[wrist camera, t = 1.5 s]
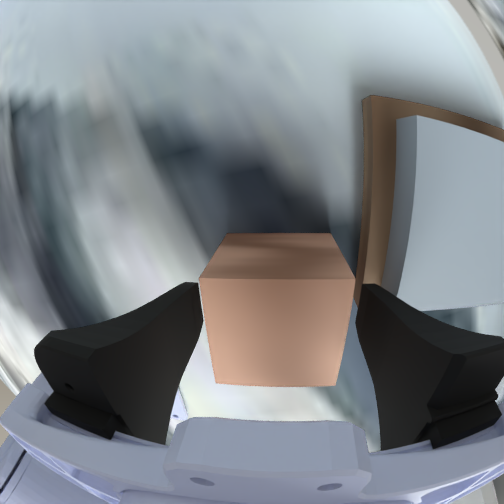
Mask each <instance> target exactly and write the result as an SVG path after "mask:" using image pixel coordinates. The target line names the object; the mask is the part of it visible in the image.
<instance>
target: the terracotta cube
mask: <svg viewBox="0 0 504 504" xmlns="http://www.w3.org/2000/svg"><path fill="white" fill-rule="evenodd" d="M355 280H356V279H355V277H354V275H353V273H352V271H351V269H350V267H349V266H348V264H347V262H346V260H345V258H344V256H343V254H342V253H341V251H340V249H339V247H338V245H337V244H336V242H335V240H334V238H333V237H332V235H331V233H227V234H226V236H225V237H224V239H223V241H222V242H221V244H220V245H219V247H218V249H217V250H216V252H215V253H214V255H213V256H212V258H211V260H210V261H209V263H208V264H207V266H206V268H205V269H204V271H203V273H202V274H201V276H200V277H199V281H200V289H201V296H202V303H203V310H204V317H205V324H206V330H207V336H208V342H209V348H210V354H211V360H212V366H213V371H214V377H215V382H216V383H219V384H231V385H246V386H269V387H313V386H335V385H336V381H337V377H338V372H339V368H340V364H341V359H342V355H343V350H344V345H345V340H346V335H347V330H348V325H349V319H350V313H351V307H352V301H353V294H354V287H355Z"/></svg>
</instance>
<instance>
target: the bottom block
mask: <svg viewBox="0 0 504 504" xmlns="http://www.w3.org/2000/svg"><path fill="white" fill-rule="evenodd" d="M362 107H363V132H364V177H363V203H362V219H361V232H360V244H359V254H358V263H357V271H356V280H355V287H354V294H353V298H354V300H355V302H356V304H357V307H358V305H359V299H360V293H361V287H362V284H371V283H375V284H377V285H379V286H381V283H382V278H383V272H384V267H385V261H386V255H387V249H388V242H389V235H390V227H391V219H392V210H393V200H394V187H395V171H396V119H400V118H405V117H410V116H414V115H419V116H423V117H427V118H431V119H435V120H439V121H443V122H446V123H450V124H453V125H457V126H460V127H463V128H466V129H469V130H472V131H475V132H478V133H481V134H484V135H487V136H489V137H492V138H494V139H497V140H500V141H502V142H504V130H503V129H501V128H498V127H496V126H493V125H490V124H488V123H485V122H482V121H479V120H476V119H474V118H471V117H467V116H464V115H461V114H458V113H454V112H451V111H447V110H444V109H440V108H436V107H432V106H428V105H424V104H419V103H415V102H410V101H405V100H399V99H394V98H388V97H382V96H375V95H370V96H368V97H367V98H365V99H363V100H362Z"/></svg>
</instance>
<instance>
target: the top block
mask: <svg viewBox="0 0 504 504" xmlns="http://www.w3.org/2000/svg"><path fill="white" fill-rule="evenodd" d="M381 287H382V288H384V289H386V290H387V291H389V292H390V293H392V294H393V295H395V296H396V297H398V298H399V299H401V300H402V301H404V302H405V303H407V304H409V305H410V306H412V307H414V308H415V309H417V310H419V311H429V310H443V309H455V308H466V307H475V306H484V305H493V304H501V303H504V142H502V141H500V140H497V139H494V138H492V137H489V136H487V135H484V134H481V133H478V132H475V131H472V130H469V129H466V128H463V127H460V126H457V125H453V124H450V123H446V122H443V121H439V120H435V119H431V118H427V117H423V116H419V115H414V116H410V117H405V118H400V119H396V171H395V187H394V200H393V210H392V219H391V227H390V235H389V242H388V249H387V255H386V261H385V267H384V272H383V278H382V283H381Z"/></svg>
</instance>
